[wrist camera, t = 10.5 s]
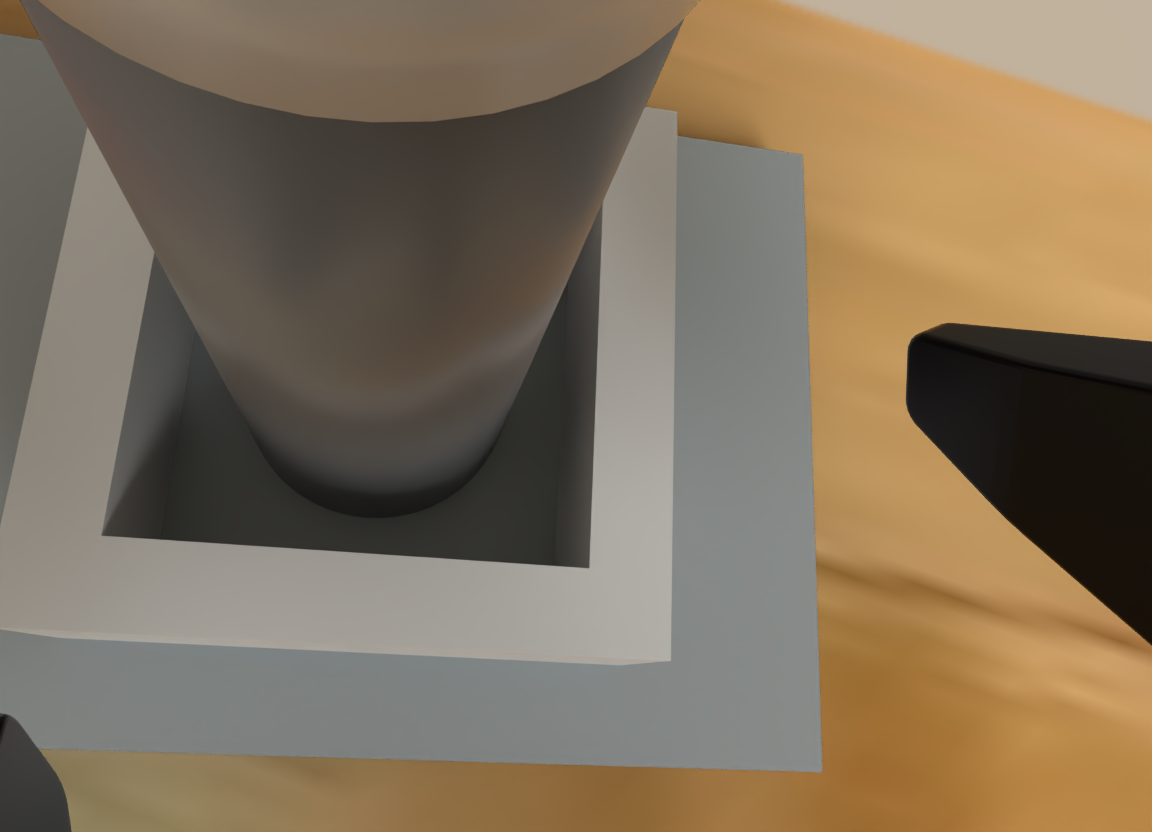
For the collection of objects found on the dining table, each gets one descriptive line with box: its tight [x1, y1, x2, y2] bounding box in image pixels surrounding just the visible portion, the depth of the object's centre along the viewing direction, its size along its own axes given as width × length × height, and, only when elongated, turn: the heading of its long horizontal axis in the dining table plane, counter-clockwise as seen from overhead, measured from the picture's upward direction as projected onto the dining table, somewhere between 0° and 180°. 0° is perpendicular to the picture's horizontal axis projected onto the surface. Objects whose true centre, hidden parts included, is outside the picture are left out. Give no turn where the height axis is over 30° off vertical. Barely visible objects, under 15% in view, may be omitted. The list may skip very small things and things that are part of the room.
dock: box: [0, 34, 822, 772], centre depth 15 cm, size 12×16×4 cm
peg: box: [20, 0, 701, 518], centre depth 10 cm, size 5×5×13 cm
